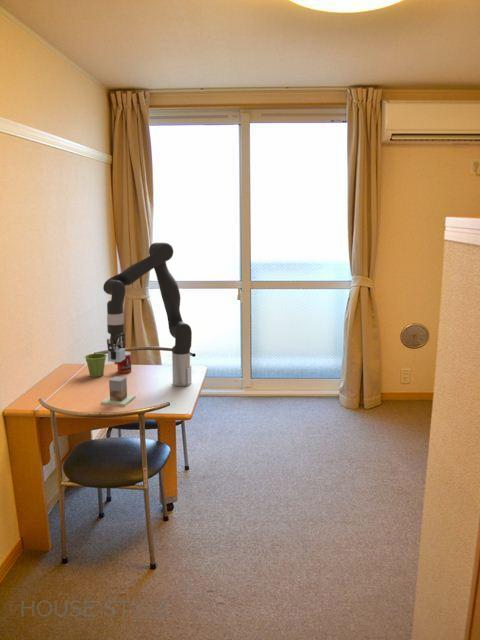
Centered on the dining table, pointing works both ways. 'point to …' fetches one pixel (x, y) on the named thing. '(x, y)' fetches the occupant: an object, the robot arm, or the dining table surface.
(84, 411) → the dining table surface
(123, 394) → the walnut block
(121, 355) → the blue block
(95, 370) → the plant pot
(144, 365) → the dining table surface
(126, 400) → the plate
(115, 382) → the grey block
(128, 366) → the canned food
